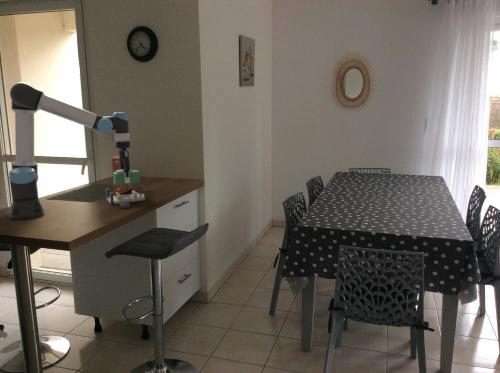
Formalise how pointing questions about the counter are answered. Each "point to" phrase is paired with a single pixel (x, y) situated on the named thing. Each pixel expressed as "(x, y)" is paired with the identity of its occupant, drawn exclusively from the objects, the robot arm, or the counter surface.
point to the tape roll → (124, 205)
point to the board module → (119, 178)
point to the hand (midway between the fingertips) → (125, 181)
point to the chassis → (127, 196)
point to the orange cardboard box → (115, 166)
